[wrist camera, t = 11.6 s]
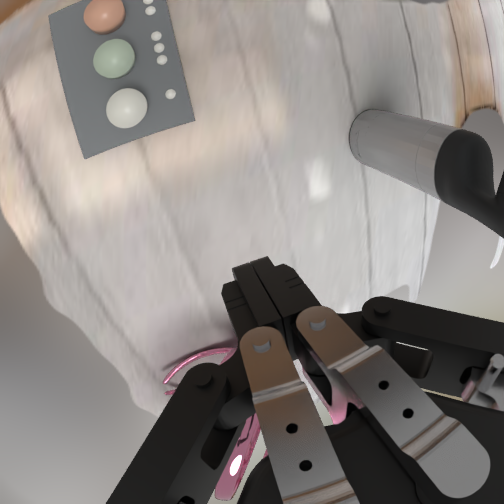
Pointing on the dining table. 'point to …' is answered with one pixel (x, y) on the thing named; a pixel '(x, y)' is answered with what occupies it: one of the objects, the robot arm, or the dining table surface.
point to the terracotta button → (104, 16)
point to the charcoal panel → (139, 78)
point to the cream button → (126, 108)
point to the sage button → (114, 59)
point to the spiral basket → (245, 442)
